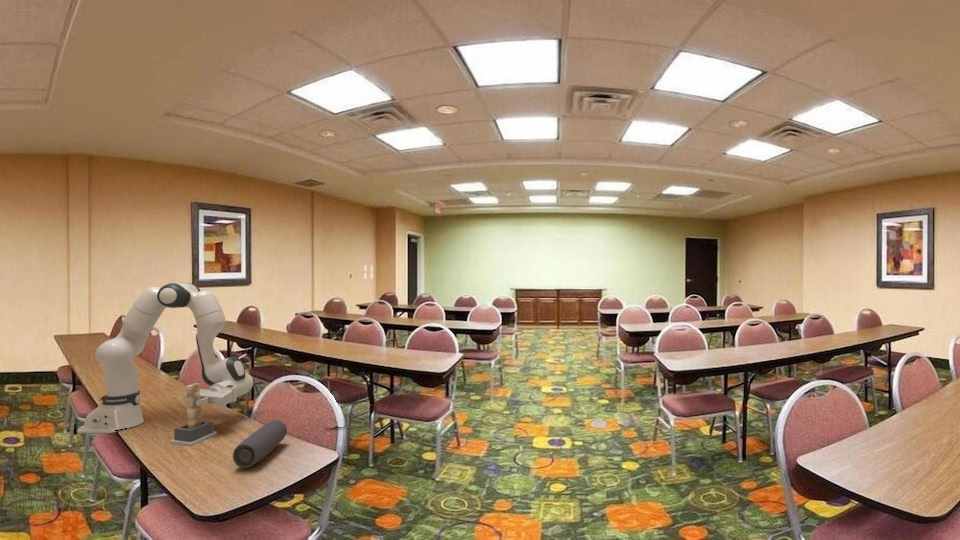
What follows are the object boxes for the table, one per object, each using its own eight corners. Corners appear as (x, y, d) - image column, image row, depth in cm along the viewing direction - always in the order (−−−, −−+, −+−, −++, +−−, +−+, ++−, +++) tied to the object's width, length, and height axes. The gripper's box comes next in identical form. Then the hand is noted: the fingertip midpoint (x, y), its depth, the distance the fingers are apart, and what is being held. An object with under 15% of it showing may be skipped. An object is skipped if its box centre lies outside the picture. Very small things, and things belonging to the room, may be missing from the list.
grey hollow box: (196, 431, 187) (196, 418, 187) (216, 434, 184) (216, 421, 184) (170, 443, 175) (169, 429, 175) (191, 446, 173) (190, 432, 173)
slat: (196, 426, 182) (195, 383, 182) (201, 427, 181) (199, 383, 181) (187, 430, 178) (186, 385, 178) (192, 430, 178) (191, 386, 177)
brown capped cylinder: (334, 430, 187) (333, 383, 187) (318, 429, 189) (318, 382, 188) (343, 424, 195) (342, 379, 194) (328, 423, 196) (327, 378, 195)
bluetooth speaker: (265, 443, 175) (264, 418, 175) (288, 443, 175) (288, 418, 174) (231, 471, 152) (230, 442, 152) (257, 471, 152) (257, 442, 152)
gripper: (200, 383, 195) (171, 393, 181) (239, 387, 189) (211, 397, 176) (201, 398, 195) (171, 408, 181) (239, 401, 189) (212, 412, 176)
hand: (191, 403), depth 179 cm, fingers closed on slat, 2 cm apart
